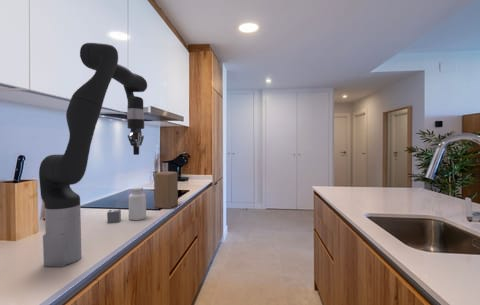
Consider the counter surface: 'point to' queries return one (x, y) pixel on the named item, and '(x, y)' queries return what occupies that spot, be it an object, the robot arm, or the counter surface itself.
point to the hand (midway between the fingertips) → (136, 154)
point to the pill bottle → (137, 204)
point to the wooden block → (166, 189)
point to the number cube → (114, 216)
